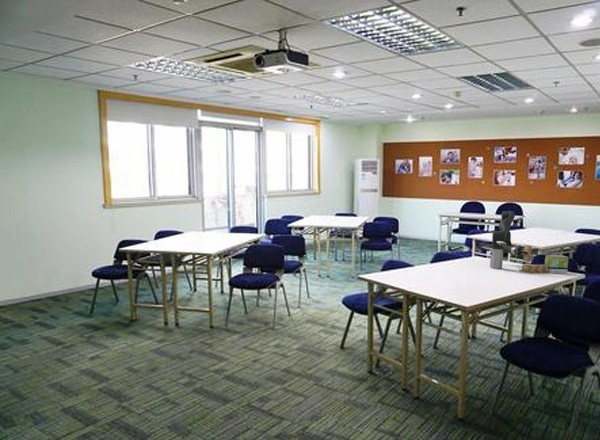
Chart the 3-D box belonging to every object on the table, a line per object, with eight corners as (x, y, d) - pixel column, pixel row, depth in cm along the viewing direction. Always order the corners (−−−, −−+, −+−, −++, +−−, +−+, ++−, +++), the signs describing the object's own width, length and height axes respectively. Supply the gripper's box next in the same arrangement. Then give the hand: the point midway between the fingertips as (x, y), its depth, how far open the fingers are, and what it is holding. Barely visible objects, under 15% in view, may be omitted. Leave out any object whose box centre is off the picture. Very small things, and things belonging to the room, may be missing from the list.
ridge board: (529, 273, 386) (529, 266, 386) (519, 270, 399) (519, 263, 399) (550, 273, 390) (550, 266, 389) (539, 270, 403) (540, 263, 402)
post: (526, 261, 402) (527, 245, 401) (523, 261, 406) (524, 245, 405) (530, 261, 402) (531, 245, 402) (527, 261, 406) (528, 245, 406)
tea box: (551, 273, 390) (552, 256, 389) (543, 271, 400) (544, 254, 399) (567, 273, 392) (568, 256, 391) (559, 271, 402) (560, 254, 401)
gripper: (510, 246, 416) (522, 248, 399) (524, 247, 419) (537, 249, 402) (510, 254, 417) (522, 257, 400) (524, 255, 419) (536, 257, 402)
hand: (529, 253), depth 401 cm, fingers closed on post, 4 cm apart
